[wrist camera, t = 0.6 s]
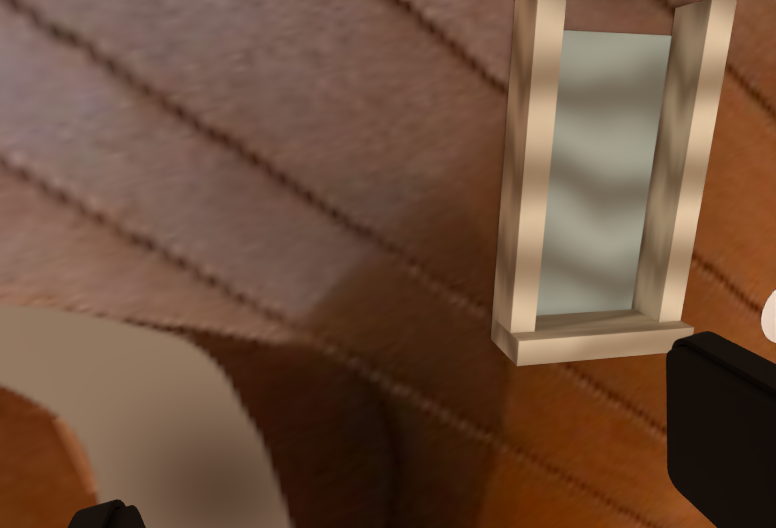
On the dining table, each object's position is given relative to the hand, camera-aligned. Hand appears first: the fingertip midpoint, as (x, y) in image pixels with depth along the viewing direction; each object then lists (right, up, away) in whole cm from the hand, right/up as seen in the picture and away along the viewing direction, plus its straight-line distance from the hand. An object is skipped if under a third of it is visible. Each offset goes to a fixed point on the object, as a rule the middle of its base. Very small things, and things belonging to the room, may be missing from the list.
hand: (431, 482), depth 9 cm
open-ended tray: (+15, +11, +32) cm, 38 cm away
